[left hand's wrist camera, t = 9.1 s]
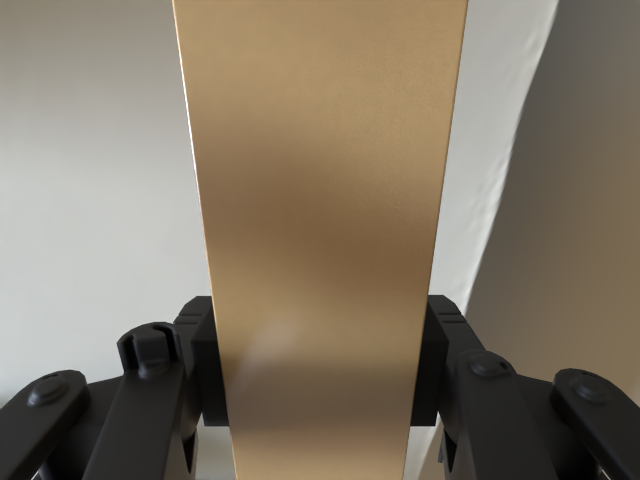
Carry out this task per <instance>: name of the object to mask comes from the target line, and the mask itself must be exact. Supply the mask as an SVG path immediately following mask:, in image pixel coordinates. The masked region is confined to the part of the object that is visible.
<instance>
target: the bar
mask: <svg viewBox="0 0 640 480" xmlns="http://www.w3.org/2000/svg"><path fill="white" fill-rule="evenodd" d="M172 5H173V12H174V20H175V27H176V35H177V42H178V49H179V57H180V64H181V72H182V79H183V86H184V94H185V101H186V109H187V116H188V124H189V131H190V138H191V146H192V153H193V161H194V168H195V176H196V183H197V190H198V198H199V205H200V213H201V220H202V227H203V235H204V242H205V250H206V257H207V265H208V272H209V279H210V287H211V294H212V302H213V309H214V317H215V324H216V331H217V339H218V346H219V354H220V361H221V368H222V376H223V383H224V391H225V398H226V406H227V413H228V420H229V428H230V435H231V443H232V450H233V457H234V465H235V472H236V480H403V475H404V467H405V460H406V453H407V446H408V438H409V431H410V424H411V416H412V409H413V402H414V394H415V387H416V380H417V372H418V365H419V358H420V351H421V343H422V336H423V329H424V321H425V314H426V307H427V299H428V292H429V285H430V278H431V270H432V263H433V256H434V248H435V241H436V234H437V226H438V219H439V212H440V205H441V197H442V190H443V183H444V175H445V168H446V161H447V153H448V146H449V139H450V132H451V124H452V117H453V110H454V102H455V95H456V88H457V80H458V73H459V66H460V59H461V51H462V44H463V37H464V29H465V22H466V15H467V7H468V0H172Z"/></svg>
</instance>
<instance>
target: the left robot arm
mask: <svg viewBox="0 0 640 480" xmlns="http://www.w3.org/2000/svg"><path fill="white" fill-rule="evenodd" d="M117 347H118V350H119V354H120V358H121V362H122V365H123V369H124V374H123V376H119V377H116V378H112V379H108V380H103V381H99V382H94V383H90V384H87V382H86V379H85V376H84V375H83V374H82V373H81V372H80V371H74V370H64V371H57V372H54V373H51V374H48V375H45V376H43V377H41V378H39V379H37V380H35V381H33V382H31V383H30V384H28V385H27V386H26V387H25V388H23V389H22V390H21V391H19V392H18V393H17V394H16V395H15V396H14V397H13V398H12V399H11V400H10V401H9V402H8V403H7V404H6V405H5V406H4V407H3V408H2V409H1V410H0V480H31V479H32V478H33V476H34V475H35V474H36V472H37V471H38V474H37V475H36V476H35V477H34V479H33V480H195V471H196V461H197V451H198V434H197V429H196V426H197V423H198V421H199V418H200V415H201V413H202V414H203V420H204V426H229V420H228V413H227V406H226V398H225V391H224V383H223V376H222V368H221V361H220V354H219V346H218V339H217V331H216V324H215V317H214V309H213V302H212V296H196V297H195V298H194V299H192V300H191V301H189V302H188V303H187V304H185V305H184V307H183V308H182V310H181V312H180V313H179V316H177V318H176V319H175V321H174V322H173V324H171V323H167V322H153V323H148V324H144V325H141V326H138V327H136V328H134V329H131V330H130V331H128V332H127V333H126V334H124V335H123V336H122V337H121V338H120V339H119V341H118V342H117ZM438 412H439V414H440V417H441V420H442V422H443V425H444V429H443V434H442V440H441V445H440V451H439V457H438V462H440V463H442V462H443V460H444V470H445V480H609V479H608V478H607V477H606V476H605V474H604V473H603V472H602V469H603V470H604V471H605V473H606V474H607V475H608V477H609V478H610V479H611V480H640V408H639V407H638V406H637V405H636V404H635V403H634V402H633V401H632V400H631V399H630V398H629V397H628V396H627V395H626V394H625V393H624V392H623V391H622V390H620V389H619V388H618V387H617V386H615V385H614V384H613V383H611V382H610V381H608V380H606V379H604V378H602V377H601V376H599V375H597V374H594V373H591V372H588V371H585V370H581V369H572V368H569V369H563V370H560V371H559V372H558V373H557V374H556V375H555V378H554V381H553V383H552V382H548V381H543V380H539V379H534V378H530V377H526V376H522V375H519V374H517V373H516V371H515V370H514V368H513V367H512V365H511V364H510V363H509V362H508V361H506V360H505V359H504V358H502V357H501V356H499V355H497V354H495V353H493V352H490V351H486V350H485V348H484V347H483V345H482V344H481V342H480V341H479V339H478V338H477V336H476V335H475V333H474V331H473V330H472V328H471V327H470V325H469V324H468V323H467V321H466V319H465V318H464V316H463V315H461V312H460V310H459V309H458V307H457V306H456V304H455V303H454V302H452V301H451V300H449V299H448V298H447V297H445V296H444V295H428V299H427V307H426V314H425V321H424V329H423V336H422V343H421V351H420V358H419V365H418V372H417V380H416V387H415V394H414V402H413V409H412V416H411V424H410V426H435V424H436V419H437V413H438Z"/></svg>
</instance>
